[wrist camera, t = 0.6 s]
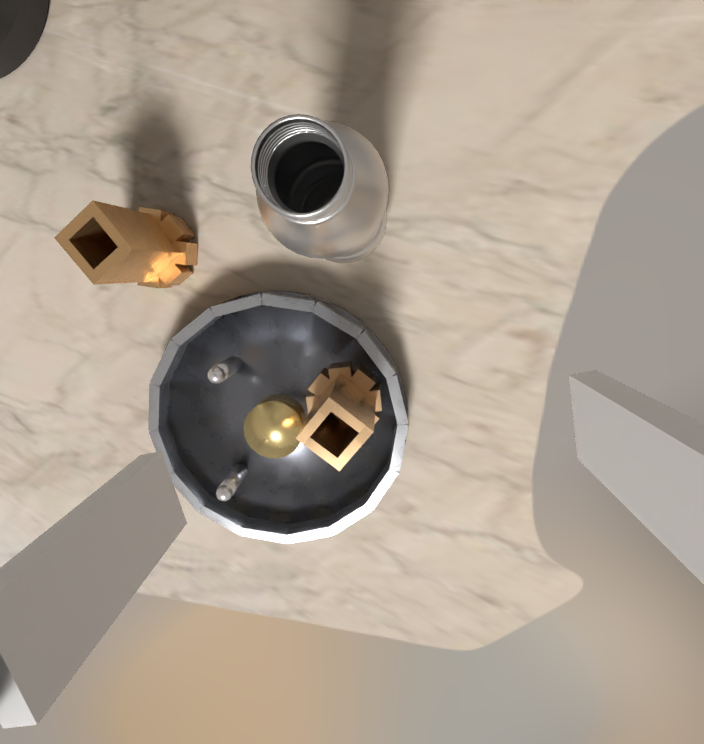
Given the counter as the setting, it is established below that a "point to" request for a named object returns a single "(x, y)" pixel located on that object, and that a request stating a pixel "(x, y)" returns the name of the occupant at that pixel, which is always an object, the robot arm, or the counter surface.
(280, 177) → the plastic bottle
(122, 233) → the hollow wooden square post
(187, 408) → the bowl
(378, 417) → the tan square tube
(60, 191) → the counter surface
